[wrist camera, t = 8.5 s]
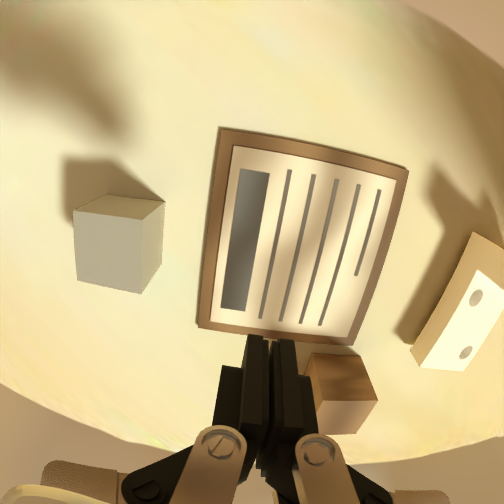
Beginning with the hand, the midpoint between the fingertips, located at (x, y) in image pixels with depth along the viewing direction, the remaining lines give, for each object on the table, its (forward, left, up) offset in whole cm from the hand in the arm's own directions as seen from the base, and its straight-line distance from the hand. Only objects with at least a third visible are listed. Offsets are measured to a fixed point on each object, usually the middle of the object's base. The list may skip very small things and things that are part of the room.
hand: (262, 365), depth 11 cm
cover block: (+7, 0, -10) cm, 13 cm away
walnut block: (-9, +12, -13) cm, 20 cm away
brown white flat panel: (-3, 0, -13) cm, 13 cm away
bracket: (-21, +2, -13) cm, 25 cm away
